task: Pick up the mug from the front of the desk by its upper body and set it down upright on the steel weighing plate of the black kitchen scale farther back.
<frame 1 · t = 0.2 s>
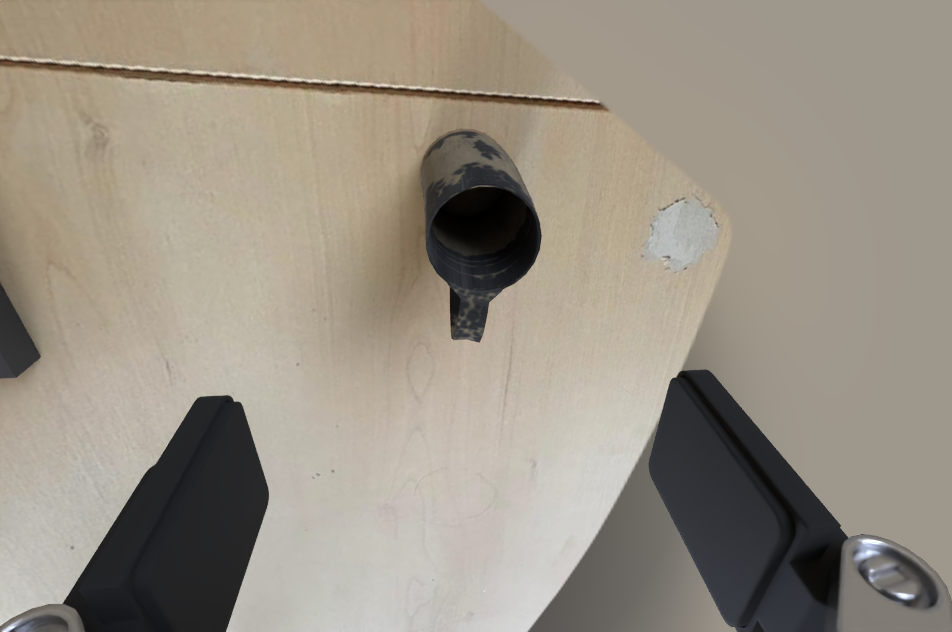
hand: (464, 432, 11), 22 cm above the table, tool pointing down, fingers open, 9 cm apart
mug: (462, 190, 31), on the table
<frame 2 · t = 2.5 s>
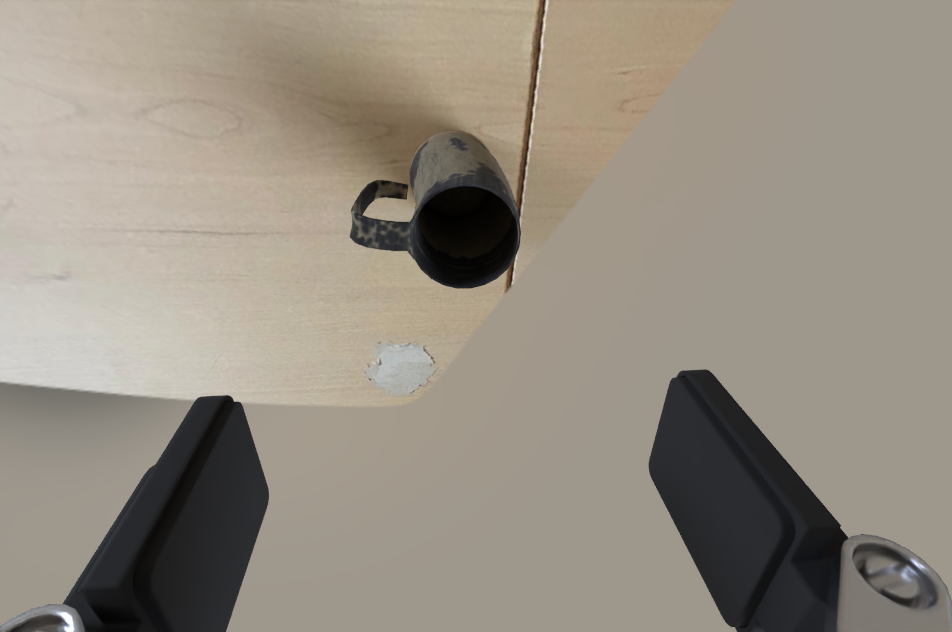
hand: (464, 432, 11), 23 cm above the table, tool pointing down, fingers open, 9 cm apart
mug: (437, 172, 31), on the table
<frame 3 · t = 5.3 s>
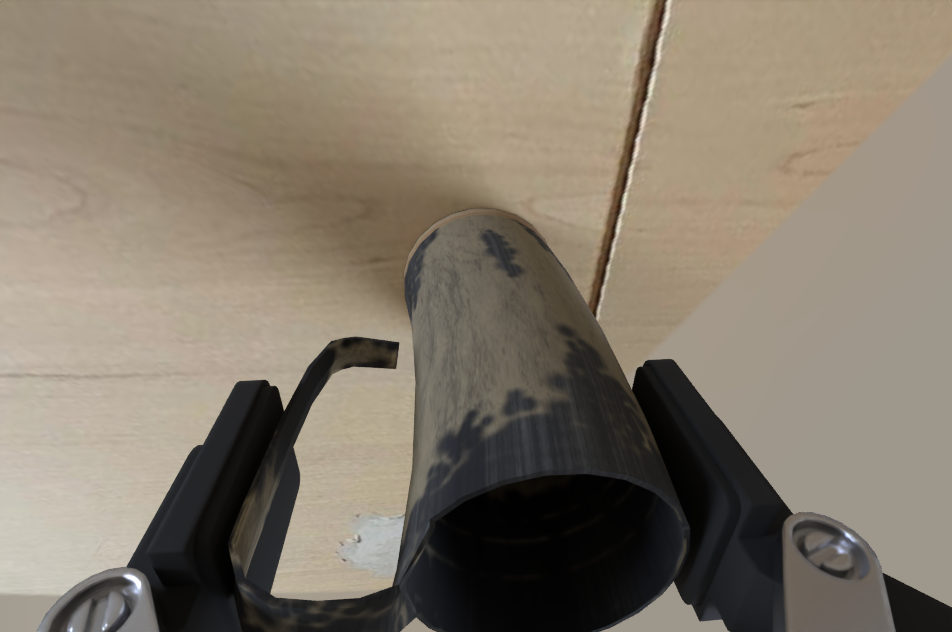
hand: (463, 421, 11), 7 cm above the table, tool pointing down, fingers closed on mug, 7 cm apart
mug: (452, 275, 18), on the table, touching gripper
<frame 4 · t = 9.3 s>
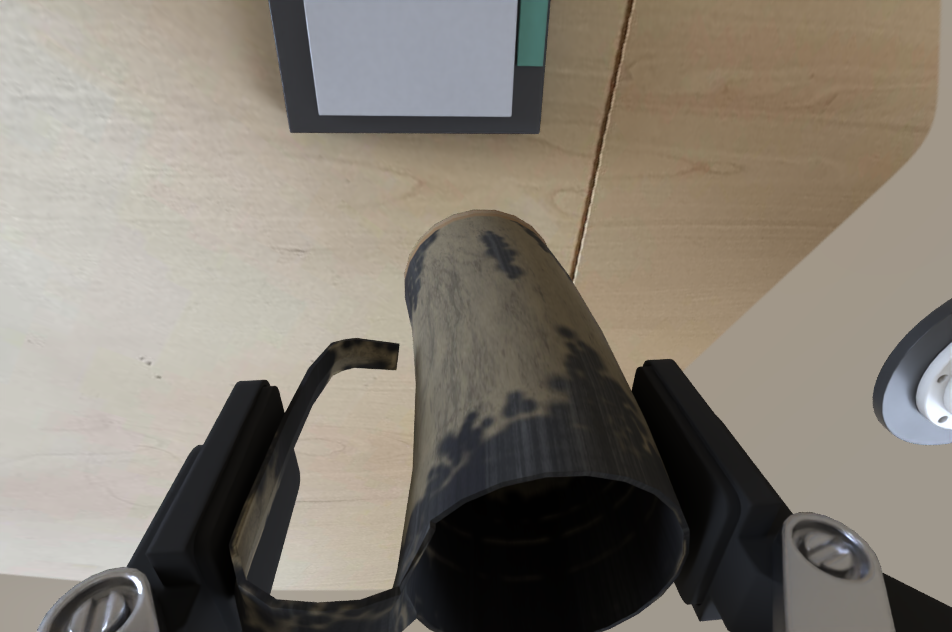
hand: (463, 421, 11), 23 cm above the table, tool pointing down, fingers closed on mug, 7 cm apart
mug: (452, 276, 18), point 15 cm above the table, touching gripper
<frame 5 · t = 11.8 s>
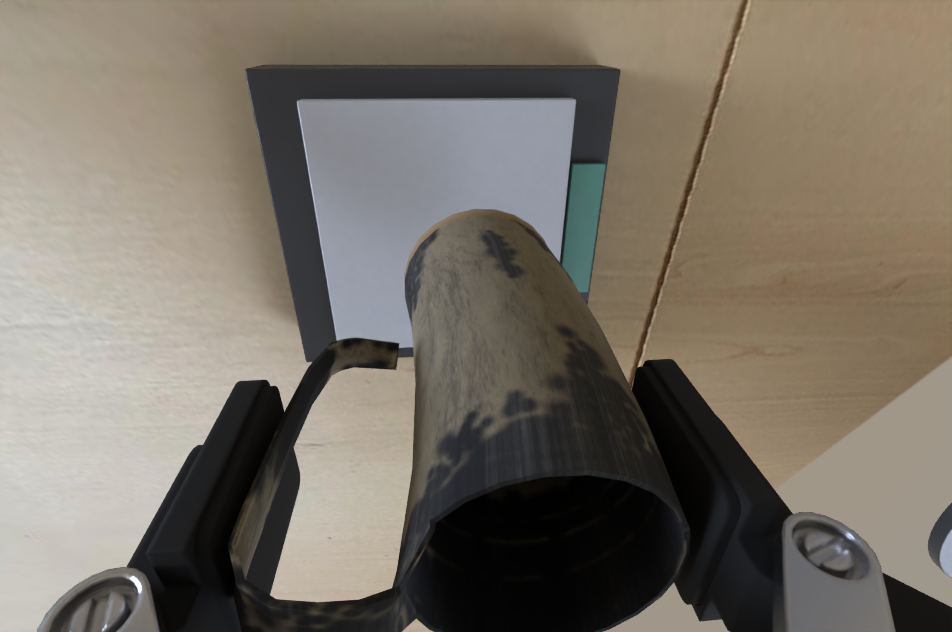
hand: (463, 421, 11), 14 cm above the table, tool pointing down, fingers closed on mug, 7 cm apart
scale: (441, 216, 23), on the table
mug: (452, 276, 18), point 7 cm above the table, touching gripper
when the fingers open (10 cm above the table, at t = 13.5 s): mug stays where it is, resting on scale.
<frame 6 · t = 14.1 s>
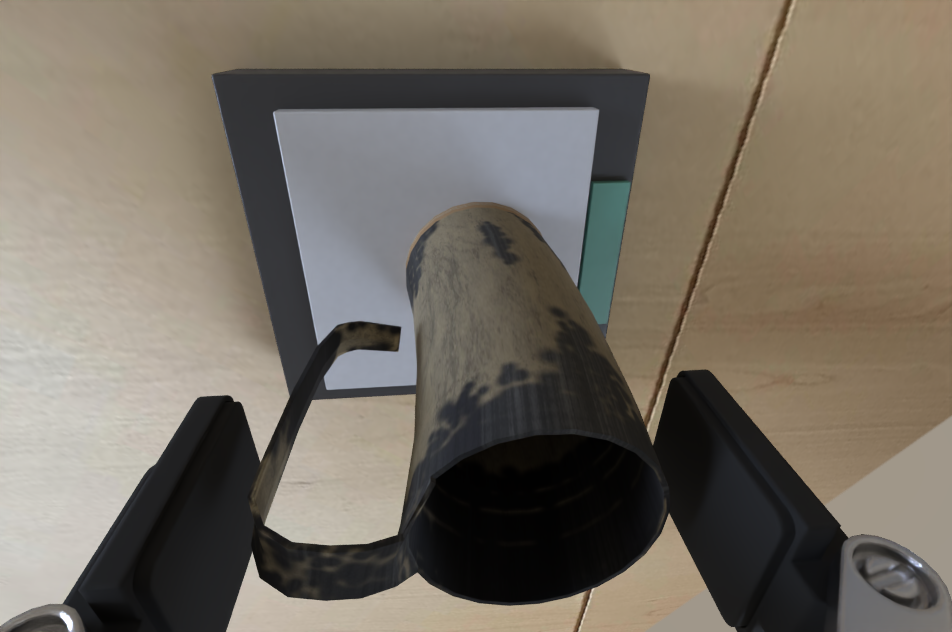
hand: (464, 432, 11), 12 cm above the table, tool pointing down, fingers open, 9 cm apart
scale: (442, 238, 21), on the table
mug: (451, 267, 18), point 3 cm above the table, touching scale
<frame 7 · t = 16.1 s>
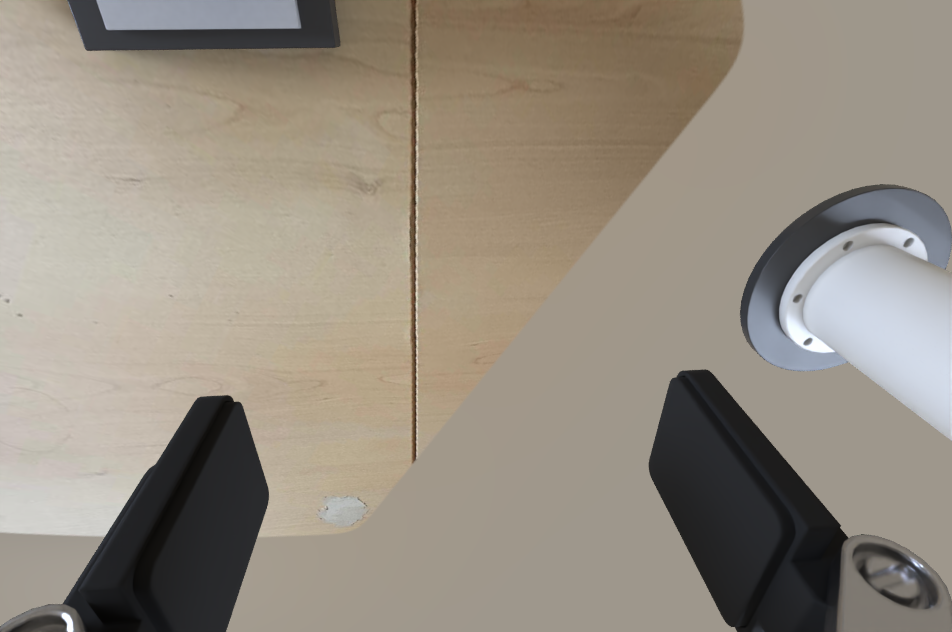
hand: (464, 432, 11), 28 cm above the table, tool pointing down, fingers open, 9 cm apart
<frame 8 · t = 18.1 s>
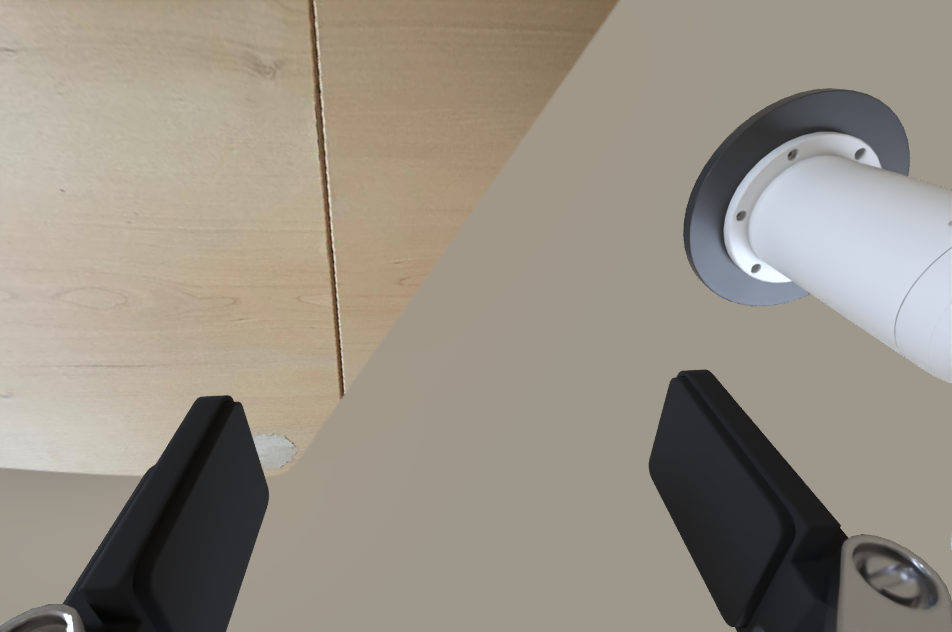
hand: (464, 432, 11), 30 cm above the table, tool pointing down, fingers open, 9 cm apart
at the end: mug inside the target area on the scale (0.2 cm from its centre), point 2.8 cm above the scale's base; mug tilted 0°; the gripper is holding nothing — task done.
